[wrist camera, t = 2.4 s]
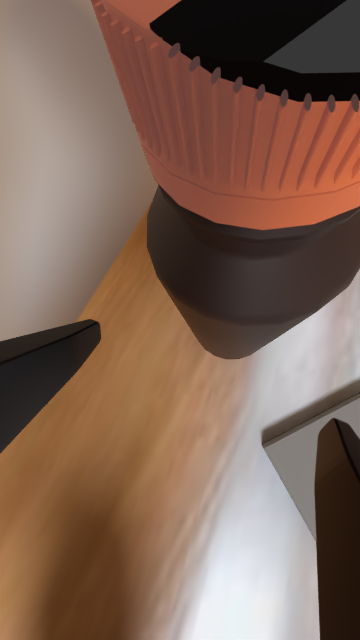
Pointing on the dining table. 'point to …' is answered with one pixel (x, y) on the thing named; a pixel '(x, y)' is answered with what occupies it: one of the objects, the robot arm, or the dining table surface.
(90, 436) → the dining table surface
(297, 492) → the mat
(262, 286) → the brown bottle
